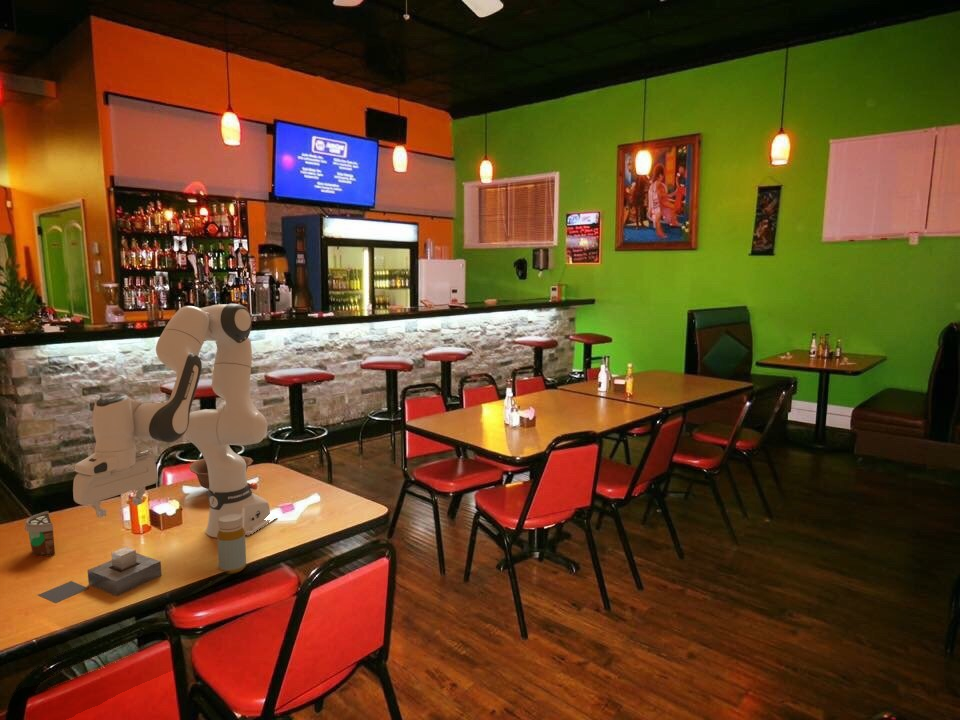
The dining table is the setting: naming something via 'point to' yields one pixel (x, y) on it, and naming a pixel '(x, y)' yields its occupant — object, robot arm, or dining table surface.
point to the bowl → (202, 470)
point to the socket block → (124, 575)
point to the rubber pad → (63, 592)
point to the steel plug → (123, 559)
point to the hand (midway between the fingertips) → (119, 510)
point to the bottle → (231, 543)
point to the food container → (41, 534)
